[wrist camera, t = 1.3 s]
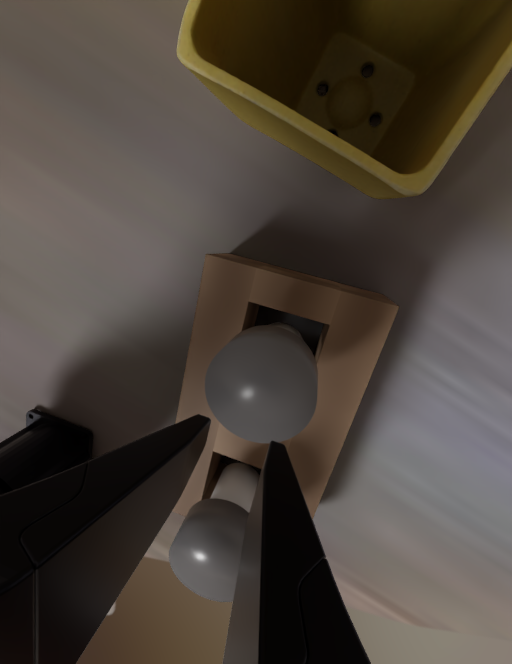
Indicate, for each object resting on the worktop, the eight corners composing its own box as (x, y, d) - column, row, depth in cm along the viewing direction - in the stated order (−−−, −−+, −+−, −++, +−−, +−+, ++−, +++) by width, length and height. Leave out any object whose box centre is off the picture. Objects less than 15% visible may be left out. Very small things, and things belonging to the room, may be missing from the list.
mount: (184, 467, 25) (160, 506, 21) (228, 253, 19) (205, 254, 15) (299, 511, 23) (295, 561, 20) (383, 294, 18) (399, 306, 14)
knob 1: (205, 492, 21) (163, 579, 15) (217, 443, 19) (176, 518, 14) (264, 516, 20) (242, 614, 15) (280, 466, 19) (263, 554, 13)
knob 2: (235, 368, 18) (196, 421, 12) (252, 299, 16) (216, 323, 11) (306, 391, 17) (297, 458, 12) (329, 321, 16) (333, 359, 10)
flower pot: (484, 55, 14) (732, -242, 6) (372, 225, 17) (420, 201, 8) (326, -31, 14) (331, -430, 6) (243, 149, 17) (167, 54, 9)
